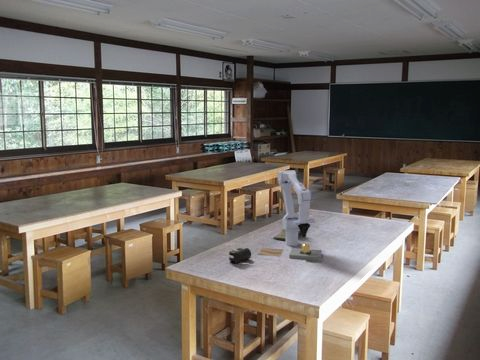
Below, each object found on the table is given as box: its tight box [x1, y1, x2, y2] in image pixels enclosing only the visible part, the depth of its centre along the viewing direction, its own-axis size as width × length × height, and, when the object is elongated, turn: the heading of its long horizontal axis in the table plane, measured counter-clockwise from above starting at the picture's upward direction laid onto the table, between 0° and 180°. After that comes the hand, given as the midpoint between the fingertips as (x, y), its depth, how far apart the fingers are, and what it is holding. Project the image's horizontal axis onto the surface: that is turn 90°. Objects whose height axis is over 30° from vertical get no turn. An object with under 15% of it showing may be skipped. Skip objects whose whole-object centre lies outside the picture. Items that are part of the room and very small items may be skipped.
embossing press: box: [273, 190, 301, 241], centre depth 287 cm, size 11×24×30 cm, turn 142°
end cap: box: [228, 247, 252, 265], centre depth 241 cm, size 10×7×7 cm
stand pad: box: [257, 247, 284, 257], centre depth 256 cm, size 12×12×1 cm
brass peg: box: [301, 243, 311, 255], centre depth 250 cm, size 4×4×7 cm
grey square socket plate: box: [288, 247, 322, 263], centre depth 251 cm, size 12×16×2 cm
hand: (303, 236), depth 255 cm, fingers closed
